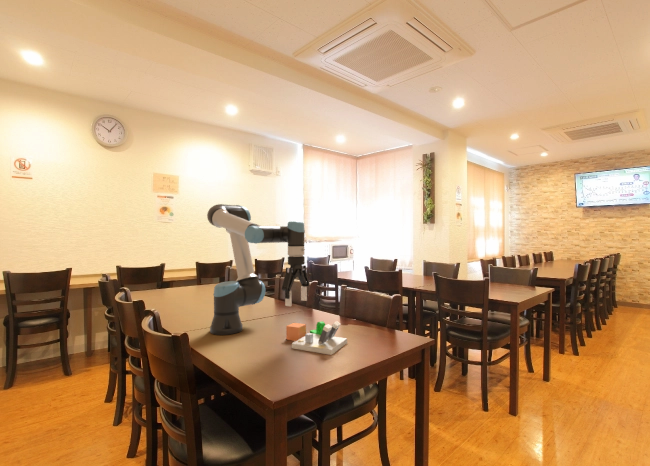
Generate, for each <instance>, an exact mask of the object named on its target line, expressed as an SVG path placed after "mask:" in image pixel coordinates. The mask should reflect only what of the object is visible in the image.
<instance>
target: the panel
mask: <svg viewBox="0 0 650 466" xmlns="http://www.w3.org/2000/svg"><path fill="white" fill-rule="evenodd" d="M312 334H313V333H312ZM320 336H321V335H319V334H313V343H311V344H309V343H305V336H304V337H302V338H301V339H299V340H297V341H293V342H292V343H291V349H295V350H299V351H300V350H301V351H307V352H311V353H317V354H324V355H329V356H330V355H331V356H332V355H333V354H335V353H336V352H337V351H339V350H340V349H341V348H342V347H344V346H345V345H347V344H348V338H347V337H341V336H334V337H333V338H331V339H329V340H327V341H326V342H325V343H323V344H321V345H319V344H318V341H319V338H320Z"/></svg>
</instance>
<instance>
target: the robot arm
mask: <svg viewBox="0 0 650 466" xmlns="http://www.w3.org/2000/svg"><path fill="white" fill-rule="evenodd" d="M206 216H207V217H206V218H207V220H208V223H209V224H211V225H212V226H214V227H215V228H224V229H225V231H226V232H227V233H228V234H229V235H230V242H231V247H232V252H233V258H234V265H235V269H236V274H237V278H236V280H230V281H228V280H227V281H222V282H220V283H217V284H216V285H215V286H214V289H213V317H212V321H211V325H210V328H209V332H210V334H212V335H215V336H216V335H217V336H226V335H234V334H237V333H240V332H242V331H243V322H242V320H241V317H240V309H239V308H240V307H245V306H249V305H250V306H251V305H256V304H259V303H260V302H262V301H263V299H264V297H265V295H266V285H265V283H264V282H263V281H262V280H259V275H257V274H255V270H254V269H255V268H254V264H253V259H252V255H251V249H250V244H268V243H270V244H271V243H275V244H278V243H287V255H288V256H287V265H289V266H290V267H286V268H285V274H284V277H283V281H282V287H281V290H282V291H283V292H284V303H285V304H284V306H286V307H292V305H293V304H292V301H293V300H292V287H293V284H294V282H295V279H296V278H298V280H299V282H300V284H301V286H300V301H302V302H303V301H304V302H305V301H306V302H307V301H308V297H307V296H308V292H307V291H308V287H309V286H310V279H309V276H308V272H307V266H306V263H305V262H306V261H305V250H306V249H305V231H306V230H305V222H303V221H298V220H297V221H288V222H287V225H286V226H284V225H282V226H279V225H277V226H274V225H273V226H271V225H267V226H266V225H259V224H257V223H254V222H252V221H251V220H252V219H251V218H252V216H251V212H250V210H249V209H248V208H247V207H246V206H243V205H239V204H236V205H235V204H223V203H221V204H220V203H218V204H215V205H212V206H211V207H210V208H209V210H208V211H207V214H206ZM249 243H250V244H249Z"/></svg>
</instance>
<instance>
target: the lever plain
mask: <svg viewBox="0 0 650 466" xmlns="http://www.w3.org/2000/svg"><path fill="white" fill-rule="evenodd" d="M331 326H332V329H331V331H330V333H329V336H328V338H327V340H329V339H331V338H333V337H335V335H336V333H337V332H338V330H339V328H340V326H341V323H340V322H339V321H338V320H336V321H334V322H333V323H332V325H331Z"/></svg>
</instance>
